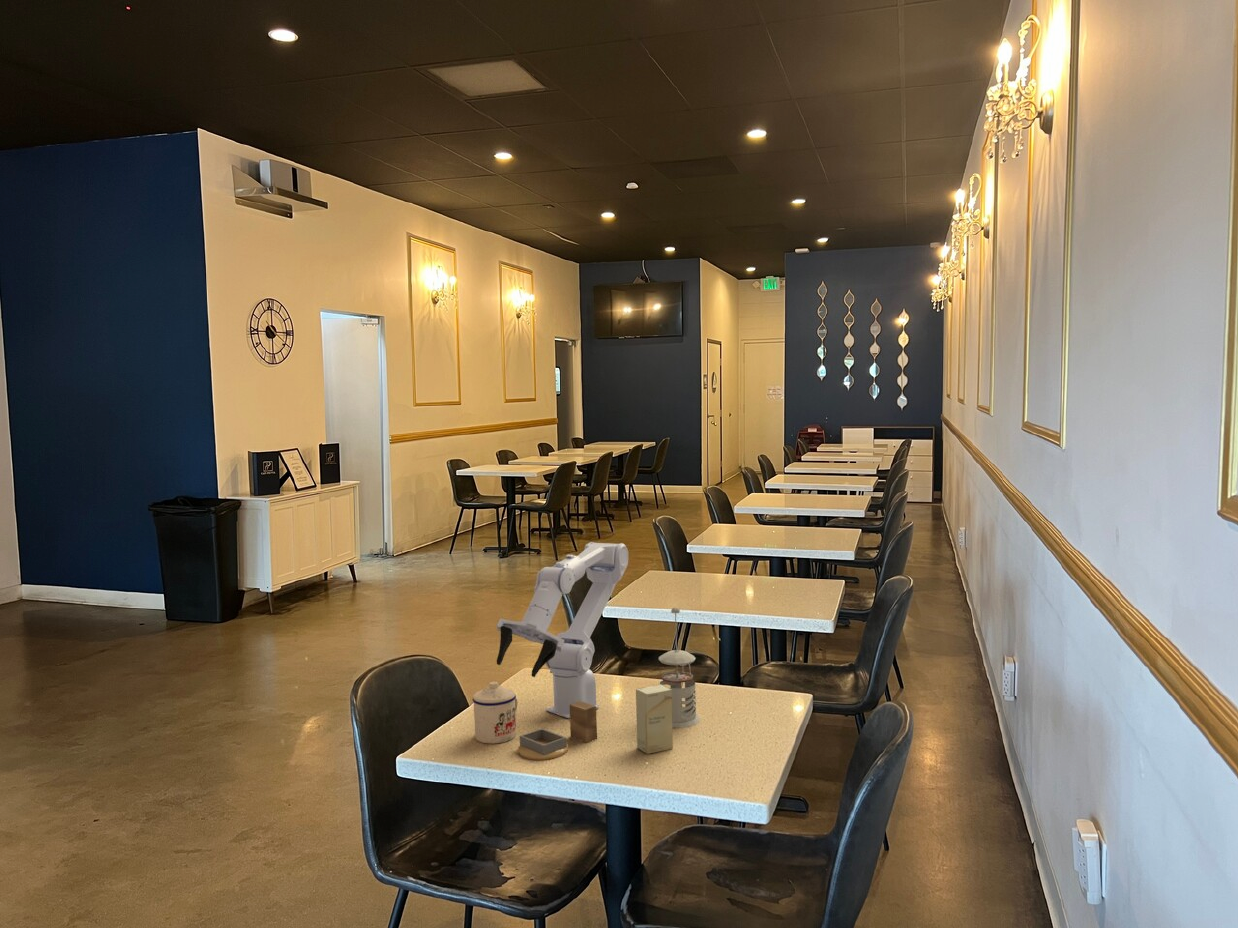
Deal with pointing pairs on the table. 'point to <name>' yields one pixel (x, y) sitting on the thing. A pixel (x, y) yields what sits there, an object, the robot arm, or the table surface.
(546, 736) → the grey open box
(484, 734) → the teacup with lid
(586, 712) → the brown wooden block
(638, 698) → the skincare box
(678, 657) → the french press
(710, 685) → the table surface
